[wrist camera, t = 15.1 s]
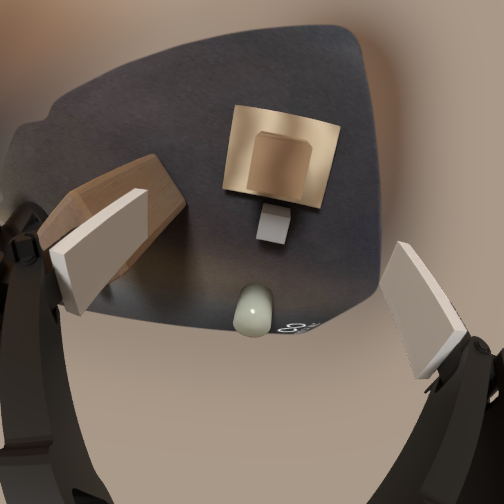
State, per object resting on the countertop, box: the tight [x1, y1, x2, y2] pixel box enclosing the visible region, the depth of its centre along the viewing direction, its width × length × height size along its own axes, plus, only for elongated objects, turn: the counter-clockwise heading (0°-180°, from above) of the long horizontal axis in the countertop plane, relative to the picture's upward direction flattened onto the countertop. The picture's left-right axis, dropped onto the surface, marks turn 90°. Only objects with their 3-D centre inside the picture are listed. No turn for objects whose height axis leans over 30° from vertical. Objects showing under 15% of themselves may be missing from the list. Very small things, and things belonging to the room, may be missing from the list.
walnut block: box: [246, 131, 313, 200], centre depth 31 cm, size 6×6×8 cm
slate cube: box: [256, 203, 291, 244], centre depth 39 cm, size 4×4×4 cm
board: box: [223, 105, 340, 208], centre depth 35 cm, size 14×12×2 cm
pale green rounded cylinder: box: [233, 284, 273, 337], centre depth 45 cm, size 6×6×7 cm
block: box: [37, 154, 186, 286], centre depth 32 cm, size 10×10×20 cm
